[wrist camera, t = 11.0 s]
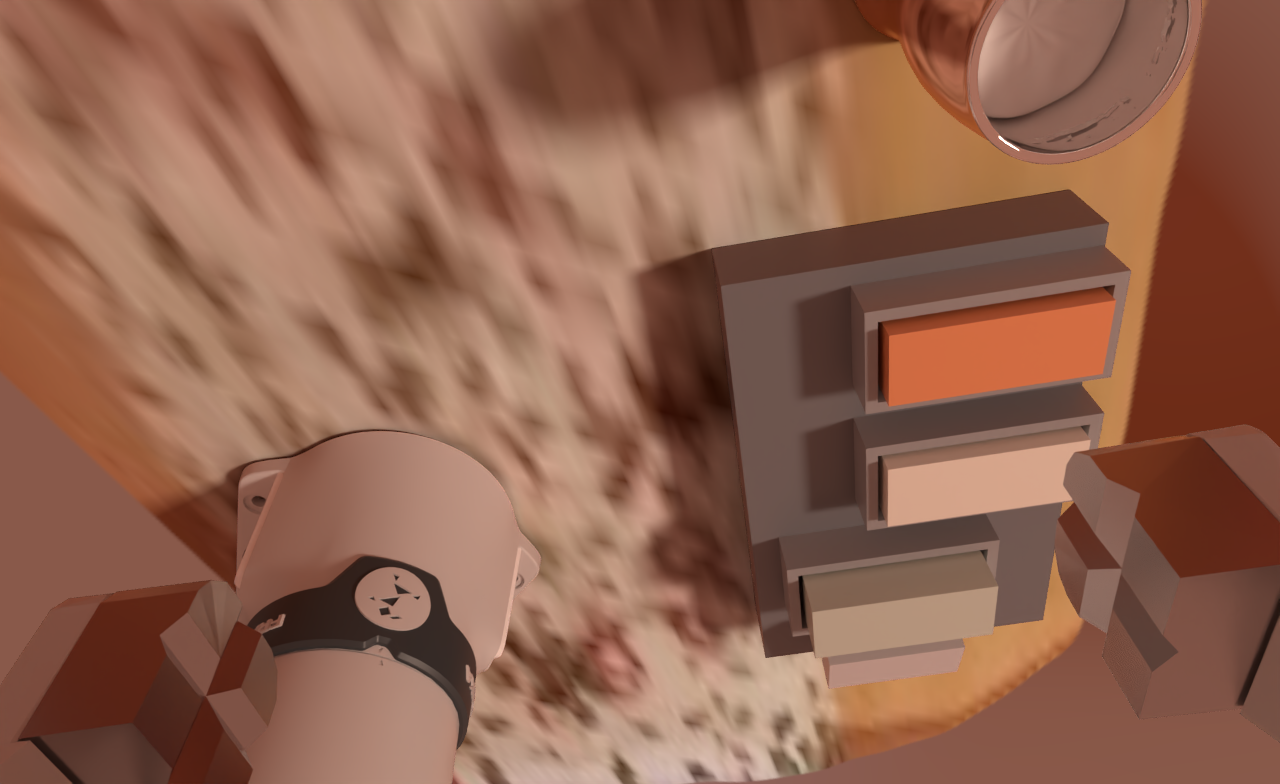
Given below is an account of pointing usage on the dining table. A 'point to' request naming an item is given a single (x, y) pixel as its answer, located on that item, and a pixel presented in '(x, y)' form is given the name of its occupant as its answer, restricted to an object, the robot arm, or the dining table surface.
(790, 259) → the panel
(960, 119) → the beer glass
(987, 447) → the bar ivory
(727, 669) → the dining table surface
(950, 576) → the bar sage
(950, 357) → the bar orange
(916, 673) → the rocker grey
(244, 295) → the dining table surface
